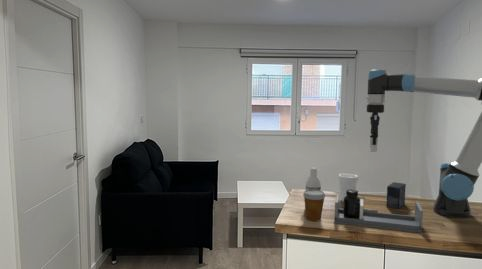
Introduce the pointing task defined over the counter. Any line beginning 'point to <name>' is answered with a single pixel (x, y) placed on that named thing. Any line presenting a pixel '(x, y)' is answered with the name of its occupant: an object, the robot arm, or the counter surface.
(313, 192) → the disposable coffee cup
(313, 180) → the bath foam
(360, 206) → the pusher
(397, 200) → the small box
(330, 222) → the counter surface
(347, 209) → the supplement bottle
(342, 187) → the foam cup
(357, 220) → the tray
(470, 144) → the robot arm
